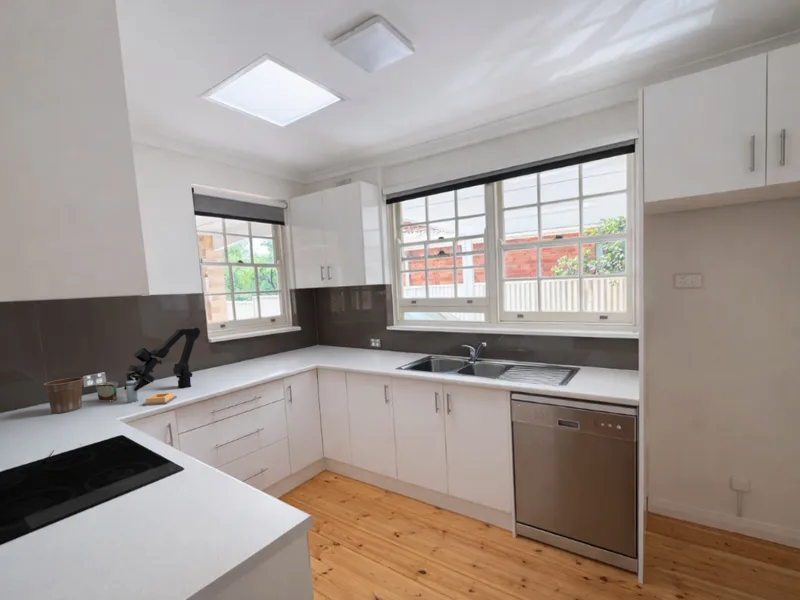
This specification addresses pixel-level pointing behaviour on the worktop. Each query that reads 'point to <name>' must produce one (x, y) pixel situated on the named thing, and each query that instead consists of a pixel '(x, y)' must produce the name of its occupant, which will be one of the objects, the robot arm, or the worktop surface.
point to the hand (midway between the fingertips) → (129, 390)
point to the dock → (160, 399)
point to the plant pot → (65, 394)
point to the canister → (131, 391)
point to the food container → (107, 391)
